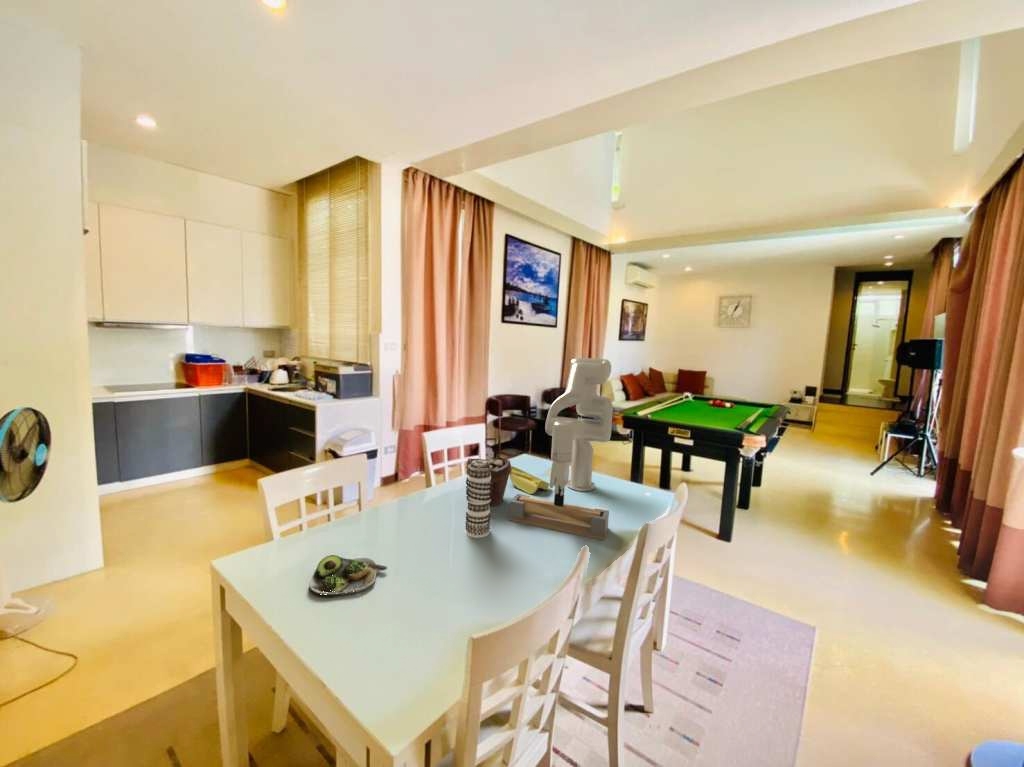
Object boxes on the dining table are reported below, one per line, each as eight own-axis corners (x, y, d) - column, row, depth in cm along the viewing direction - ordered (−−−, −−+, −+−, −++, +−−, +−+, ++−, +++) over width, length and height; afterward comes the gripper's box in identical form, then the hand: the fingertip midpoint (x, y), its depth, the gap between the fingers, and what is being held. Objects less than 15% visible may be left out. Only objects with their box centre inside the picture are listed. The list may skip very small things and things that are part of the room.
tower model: (458, 533, 143) (460, 463, 140) (473, 523, 151) (475, 456, 148) (481, 541, 139) (484, 468, 136) (495, 529, 147) (498, 461, 144)
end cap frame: (517, 510, 164) (518, 492, 163) (608, 528, 152) (609, 509, 151) (508, 520, 155) (509, 502, 154) (603, 540, 143) (605, 520, 142)
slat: (521, 508, 160) (521, 495, 159) (600, 523, 149) (601, 510, 149) (518, 511, 157) (518, 498, 156) (598, 527, 147) (599, 514, 146)
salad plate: (389, 558, 127) (389, 543, 126) (384, 594, 110) (384, 578, 109) (320, 563, 123) (320, 548, 122) (304, 602, 105) (303, 585, 105)
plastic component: (551, 484, 187) (539, 479, 180) (545, 500, 186) (532, 495, 179) (520, 469, 201) (508, 464, 194) (514, 484, 200) (501, 479, 193)
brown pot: (519, 497, 176) (520, 456, 174) (492, 514, 160) (493, 468, 158) (485, 488, 186) (486, 449, 184) (456, 502, 169) (456, 460, 167)
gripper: (556, 449, 158) (554, 496, 160) (545, 459, 144) (543, 510, 147) (576, 452, 156) (573, 499, 158) (567, 463, 142) (564, 514, 144)
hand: (558, 504), depth 152 cm, fingers closed
